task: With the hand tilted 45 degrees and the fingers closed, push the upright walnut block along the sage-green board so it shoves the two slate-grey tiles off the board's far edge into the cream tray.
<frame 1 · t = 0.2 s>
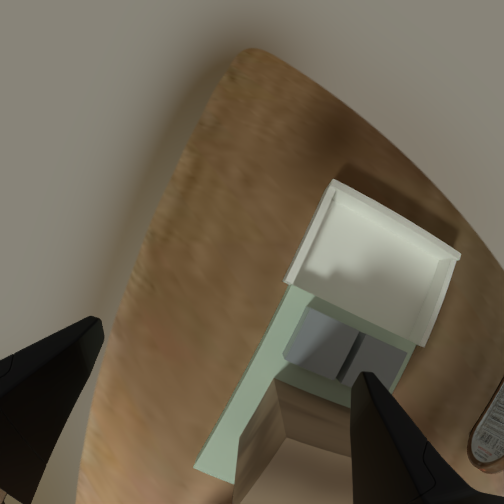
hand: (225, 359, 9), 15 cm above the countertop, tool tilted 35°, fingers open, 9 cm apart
slate tile A: (317, 340, 22), point 2 cm above the countertop, touching sage board
walnut push block: (300, 426, 21), point 2 cm above the countertop, touching sage board
slate tile B: (366, 362, 22), point 2 cm above the countertop, touching sage board
sage board: (303, 407, 23), on the countertop
tin: (494, 399, 23), on the countertop
cream tray: (371, 272, 25), on the countertop
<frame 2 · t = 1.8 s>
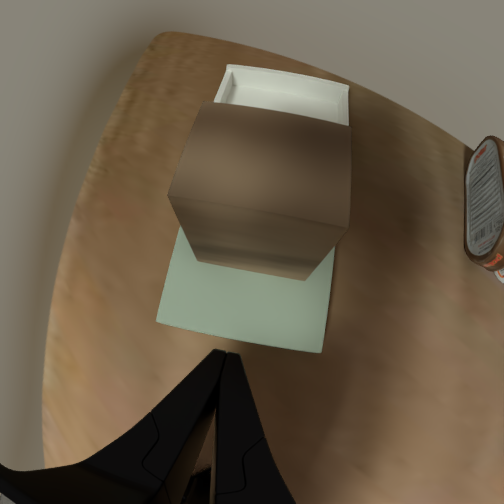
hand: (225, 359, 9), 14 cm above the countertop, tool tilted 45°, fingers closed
walnut push block: (258, 233, 23), point 2 cm above the countertop, touching sage board
pill bottle: (501, 264, 26), on the countertop
sage board: (259, 231, 25), on the countertop
tin: (469, 215, 27), on the countertop
cream tray: (280, 118, 30), on the countertop
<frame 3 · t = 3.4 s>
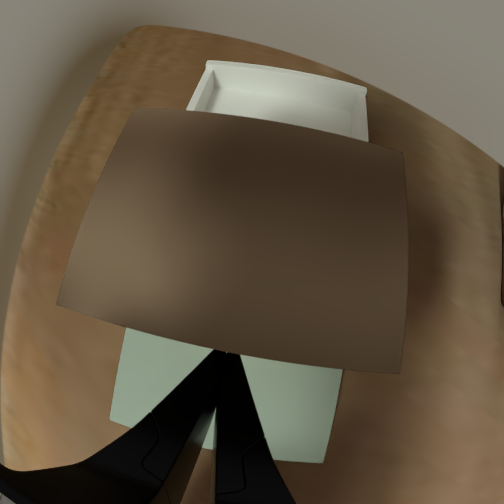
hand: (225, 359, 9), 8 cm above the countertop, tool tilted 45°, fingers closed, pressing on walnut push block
walnut push block: (243, 297, 16), point 2 cm above the countertop, touching gripper, sage board
sage board: (244, 297, 18), on the countertop
cream tray: (276, 131, 23), on the countertop
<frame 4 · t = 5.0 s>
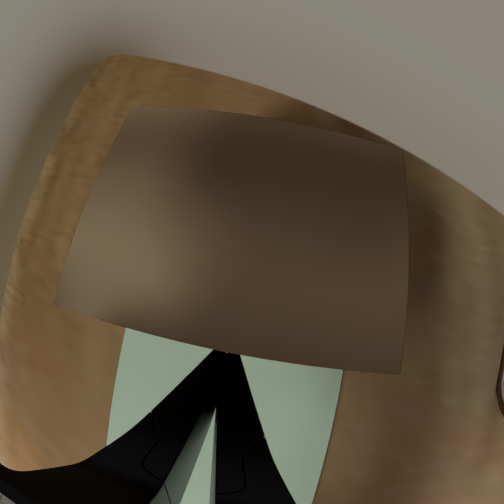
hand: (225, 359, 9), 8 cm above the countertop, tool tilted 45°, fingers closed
walnut push block: (243, 295, 16), point 2 cm above the countertop, touching sage board
sage board: (221, 416, 16), on the countertop
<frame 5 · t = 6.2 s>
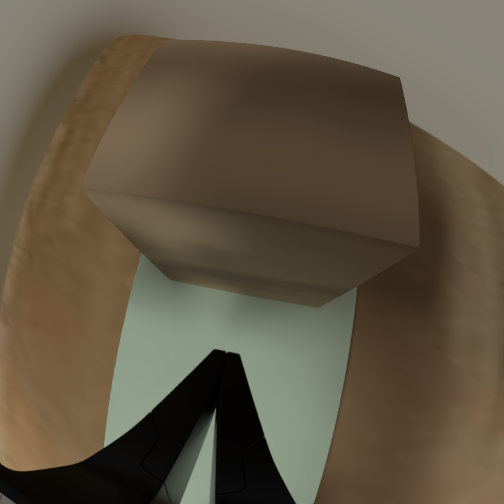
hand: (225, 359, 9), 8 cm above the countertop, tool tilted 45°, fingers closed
walnut push block: (253, 240, 17), point 2 cm above the countertop, touching sage board
sage board: (230, 369, 16), on the countertop
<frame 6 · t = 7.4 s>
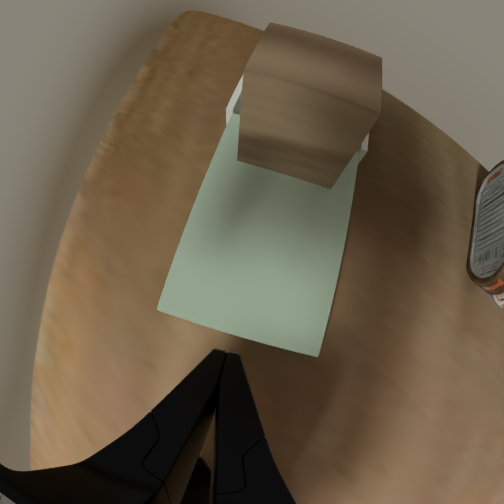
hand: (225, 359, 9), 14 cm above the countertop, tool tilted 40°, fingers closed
walnut push block: (292, 146, 25), point 2 cm above the countertop, touching sage board
pill bottle: (500, 287, 26), on the countertop
sage board: (268, 227, 25), on the countertop
tin: (475, 234, 27), on the countertop
cream tray: (300, 114, 29), on the countertop
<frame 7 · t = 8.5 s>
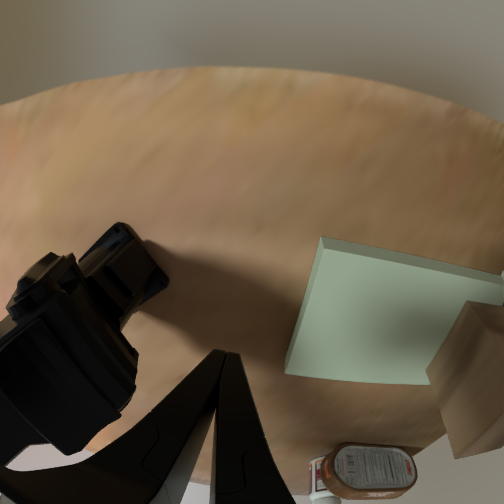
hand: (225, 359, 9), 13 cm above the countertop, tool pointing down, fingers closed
walnut push block: (468, 340, 21), point 2 cm above the countertop, touching sage board
pill bottle: (325, 460, 36), on the countertop
sage board: (401, 320, 23), on the countertop
tin: (369, 445, 34), on the countertop
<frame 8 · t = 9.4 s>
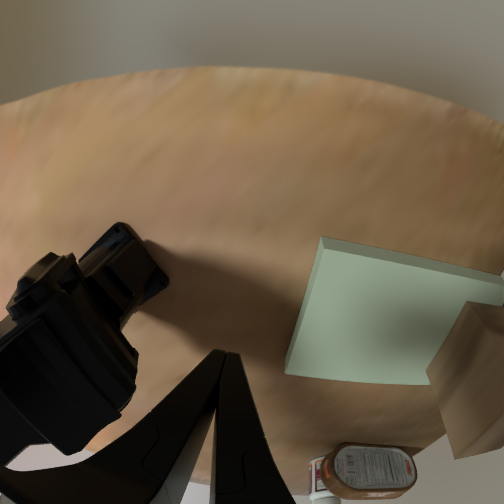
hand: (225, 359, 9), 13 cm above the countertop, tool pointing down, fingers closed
walnut push block: (468, 340, 21), point 2 cm above the countertop, touching sage board
pill bottle: (325, 460, 36), on the countertop
sage board: (401, 320, 23), on the countertop
tin: (369, 446, 34), on the countertop
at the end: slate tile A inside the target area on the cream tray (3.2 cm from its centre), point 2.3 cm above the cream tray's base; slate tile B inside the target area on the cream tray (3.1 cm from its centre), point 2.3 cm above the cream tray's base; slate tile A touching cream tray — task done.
